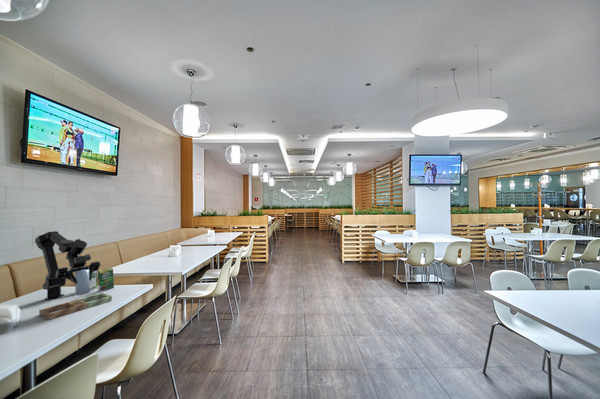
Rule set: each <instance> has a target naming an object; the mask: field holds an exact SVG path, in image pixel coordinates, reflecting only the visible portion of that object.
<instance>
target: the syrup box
mask: <svg viewBox="0 0 600 399" xmlns="http://www.w3.org/2000/svg"><path fill="white" fill-rule="evenodd" d="M95 289H98V270H97V271H93V272H92V276H91V280H90V291H93V290H95Z"/></svg>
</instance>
